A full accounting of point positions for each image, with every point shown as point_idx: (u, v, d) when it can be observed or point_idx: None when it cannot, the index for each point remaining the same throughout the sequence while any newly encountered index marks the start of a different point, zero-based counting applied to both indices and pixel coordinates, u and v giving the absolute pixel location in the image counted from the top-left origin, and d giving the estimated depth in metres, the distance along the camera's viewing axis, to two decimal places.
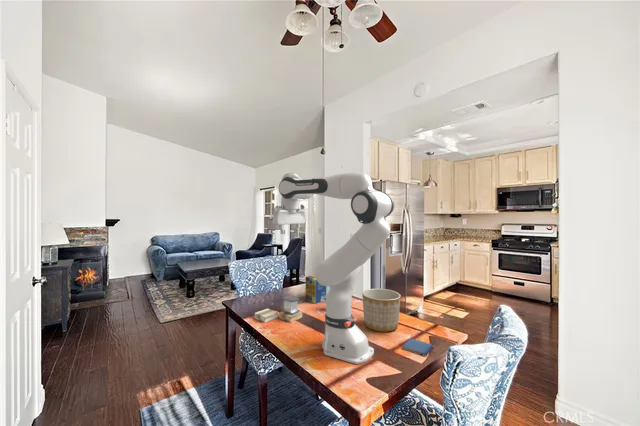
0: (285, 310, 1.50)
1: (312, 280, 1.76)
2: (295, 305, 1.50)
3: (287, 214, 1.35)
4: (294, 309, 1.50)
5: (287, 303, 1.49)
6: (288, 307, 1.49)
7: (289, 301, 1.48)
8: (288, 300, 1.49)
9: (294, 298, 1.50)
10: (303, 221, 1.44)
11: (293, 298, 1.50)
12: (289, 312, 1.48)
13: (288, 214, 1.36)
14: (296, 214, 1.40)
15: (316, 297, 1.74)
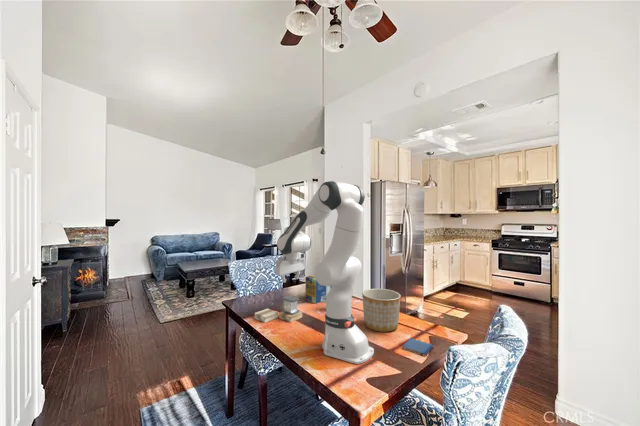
0: (285, 310, 1.50)
1: (312, 280, 1.76)
2: (295, 305, 1.50)
3: (288, 265, 1.48)
4: (294, 309, 1.50)
5: (287, 303, 1.49)
6: (288, 307, 1.49)
7: (289, 301, 1.48)
8: (288, 300, 1.49)
9: (294, 298, 1.50)
10: (303, 268, 1.56)
11: (293, 298, 1.50)
12: (289, 312, 1.48)
13: (289, 264, 1.48)
14: (297, 262, 1.53)
15: (316, 297, 1.74)
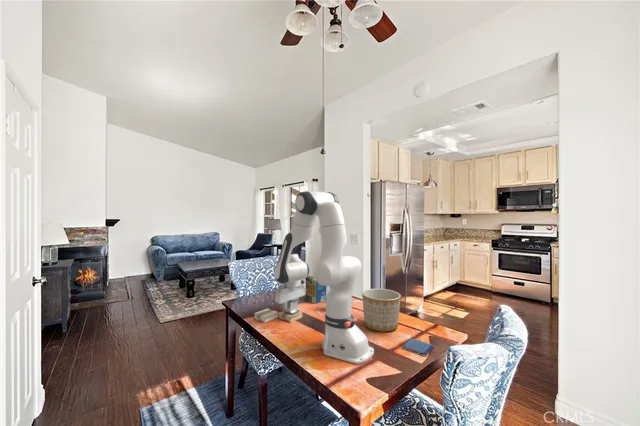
0: (285, 310, 1.50)
1: (312, 280, 1.76)
2: (295, 305, 1.50)
3: (288, 292, 1.48)
4: (294, 309, 1.50)
5: (287, 303, 1.49)
6: (288, 307, 1.49)
7: (289, 301, 1.48)
8: None
9: (294, 298, 1.50)
10: (303, 294, 1.56)
11: (293, 298, 1.50)
12: (289, 312, 1.48)
13: (289, 291, 1.48)
14: (297, 289, 1.53)
15: (316, 297, 1.74)
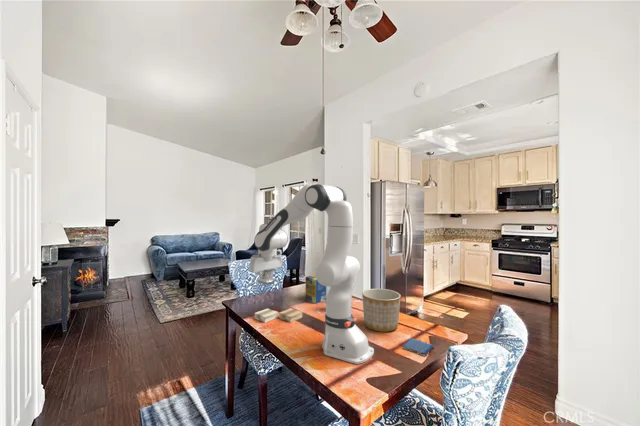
0: (260, 280, 1.50)
1: (312, 280, 1.76)
2: (270, 275, 1.50)
3: (263, 262, 1.47)
4: (269, 279, 1.49)
5: (262, 273, 1.49)
6: None
7: (264, 271, 1.47)
8: None
9: None
10: (279, 265, 1.56)
11: None
12: (264, 282, 1.48)
13: (264, 261, 1.48)
14: (272, 260, 1.52)
15: (316, 297, 1.74)
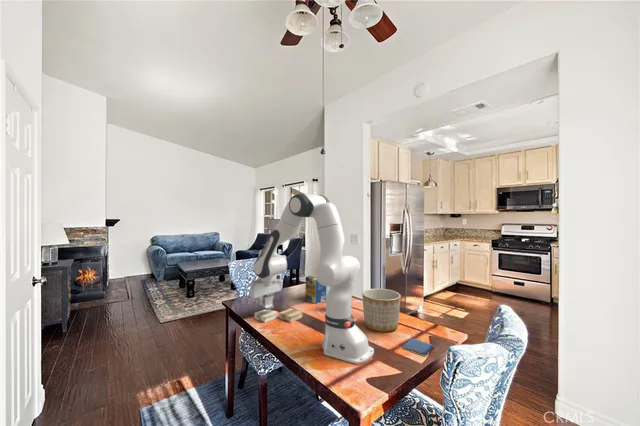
0: (260, 305, 1.50)
1: (312, 280, 1.76)
2: (270, 300, 1.50)
3: (263, 287, 1.47)
4: (269, 304, 1.49)
5: (262, 298, 1.49)
6: (263, 302, 1.48)
7: (264, 296, 1.48)
8: None
9: (269, 293, 1.50)
10: (279, 289, 1.56)
11: (268, 293, 1.50)
12: (264, 307, 1.48)
13: (264, 286, 1.48)
14: (272, 284, 1.52)
15: (316, 297, 1.74)
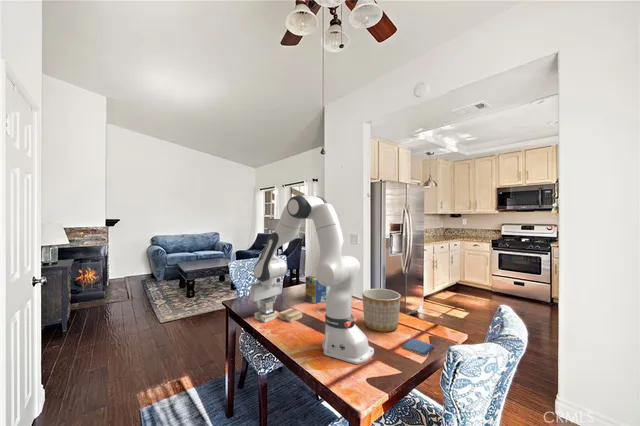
0: (260, 310, 1.50)
1: (312, 280, 1.76)
2: (270, 305, 1.50)
3: (263, 290, 1.47)
4: (269, 309, 1.49)
5: (262, 303, 1.49)
6: (263, 307, 1.48)
7: (264, 301, 1.48)
8: (263, 300, 1.48)
9: (269, 298, 1.50)
10: (279, 292, 1.56)
11: (268, 298, 1.50)
12: (264, 312, 1.48)
13: (264, 289, 1.48)
14: (272, 287, 1.52)
15: (316, 297, 1.74)
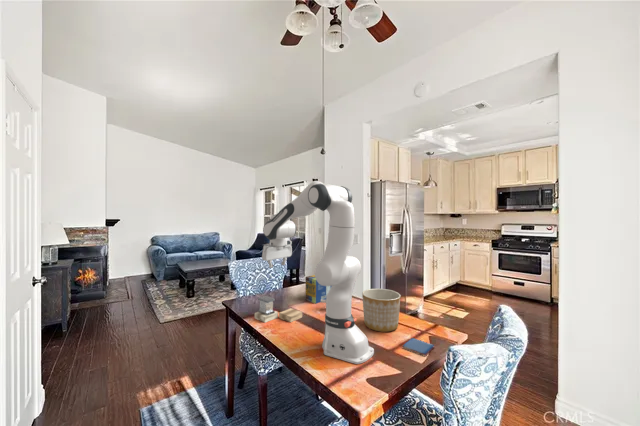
0: (260, 310, 1.50)
1: (312, 280, 1.76)
2: (270, 305, 1.50)
3: (275, 251, 1.54)
4: (269, 309, 1.49)
5: (262, 303, 1.49)
6: (263, 307, 1.48)
7: (264, 301, 1.48)
8: (263, 300, 1.48)
9: (269, 298, 1.50)
10: (289, 254, 1.63)
11: (268, 298, 1.50)
12: (264, 312, 1.48)
13: (276, 250, 1.55)
14: (283, 249, 1.59)
15: (316, 297, 1.74)
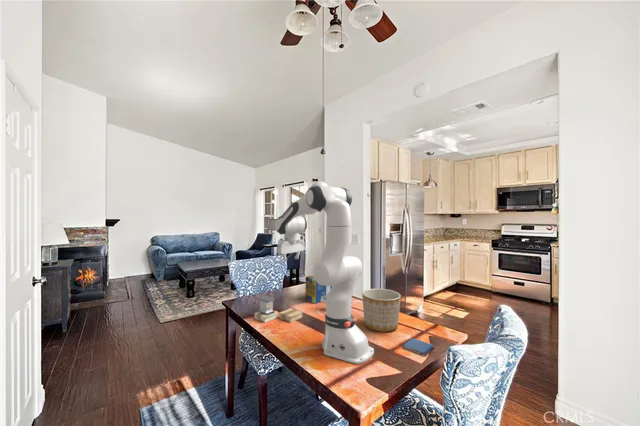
0: (260, 310, 1.50)
1: (312, 280, 1.76)
2: (270, 305, 1.50)
3: (289, 245, 1.63)
4: (269, 309, 1.49)
5: (262, 303, 1.49)
6: (263, 307, 1.48)
7: (264, 301, 1.48)
8: (263, 300, 1.48)
9: (269, 298, 1.50)
10: (302, 249, 1.72)
11: (268, 298, 1.50)
12: (264, 312, 1.48)
13: (290, 245, 1.64)
14: (296, 244, 1.68)
15: (316, 297, 1.74)
